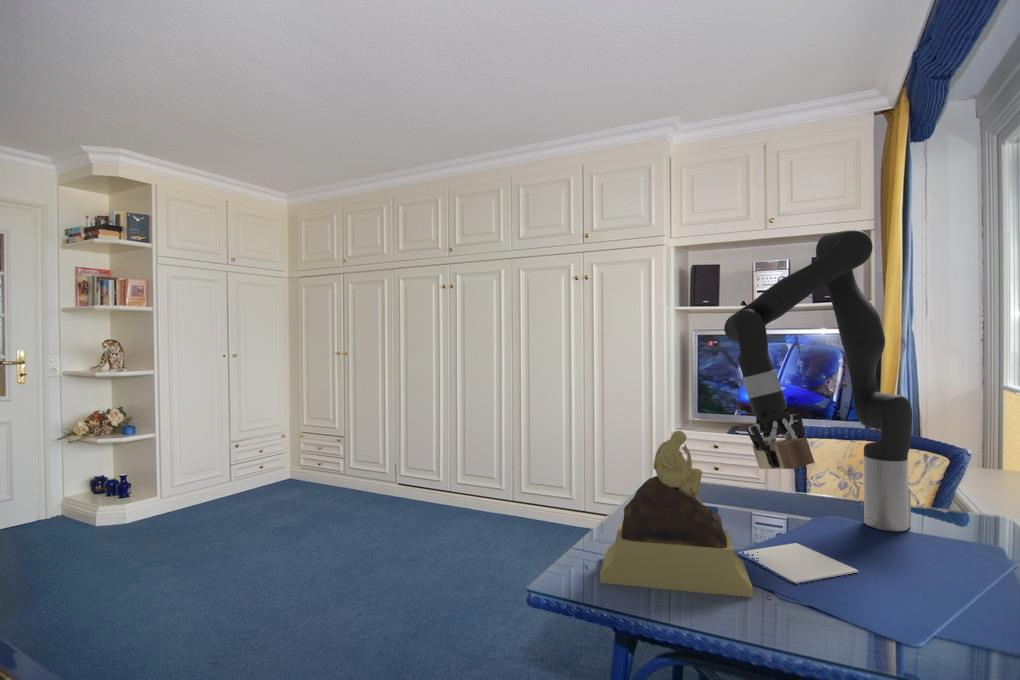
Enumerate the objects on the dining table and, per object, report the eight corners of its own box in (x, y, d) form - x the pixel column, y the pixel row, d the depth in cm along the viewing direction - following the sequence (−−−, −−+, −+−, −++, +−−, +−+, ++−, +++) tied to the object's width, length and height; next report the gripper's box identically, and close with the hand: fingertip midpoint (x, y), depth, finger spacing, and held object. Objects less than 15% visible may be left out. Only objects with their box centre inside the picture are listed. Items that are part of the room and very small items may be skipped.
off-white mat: (796, 545, 130) (796, 542, 130) (858, 573, 115) (858, 570, 115) (738, 554, 125) (738, 552, 125) (795, 584, 110) (795, 581, 110)
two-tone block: (771, 440, 138) (806, 437, 127) (778, 462, 138) (814, 462, 126) (752, 445, 137) (785, 443, 126) (759, 468, 136) (793, 469, 125)
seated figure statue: (742, 570, 118) (741, 425, 117) (752, 598, 105) (751, 437, 105) (605, 558, 125) (604, 422, 125) (600, 583, 112) (598, 432, 112)
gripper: (748, 397, 128) (772, 472, 125) (800, 384, 132) (824, 456, 129) (729, 401, 135) (750, 471, 132) (779, 388, 139) (801, 456, 136)
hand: (787, 463), depth 131 cm, fingers closed on two-tone block, 5 cm apart
